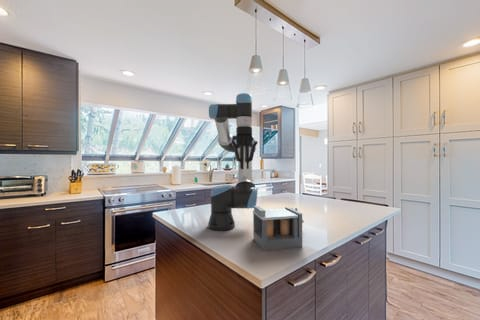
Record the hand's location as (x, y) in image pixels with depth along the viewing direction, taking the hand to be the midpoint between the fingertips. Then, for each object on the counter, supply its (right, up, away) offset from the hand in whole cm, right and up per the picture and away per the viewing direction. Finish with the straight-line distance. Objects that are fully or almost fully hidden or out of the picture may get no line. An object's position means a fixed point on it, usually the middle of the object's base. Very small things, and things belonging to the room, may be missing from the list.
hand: (244, 175), depth 104 cm
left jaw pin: (+11, -30, -6) cm, 33 cm away
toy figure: (+27, -30, +13) cm, 43 cm away
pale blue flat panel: (+13, -18, -5) cm, 23 cm away
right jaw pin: (+19, -30, -4) cm, 36 cm away
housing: (+15, -30, -5) cm, 34 cm away
